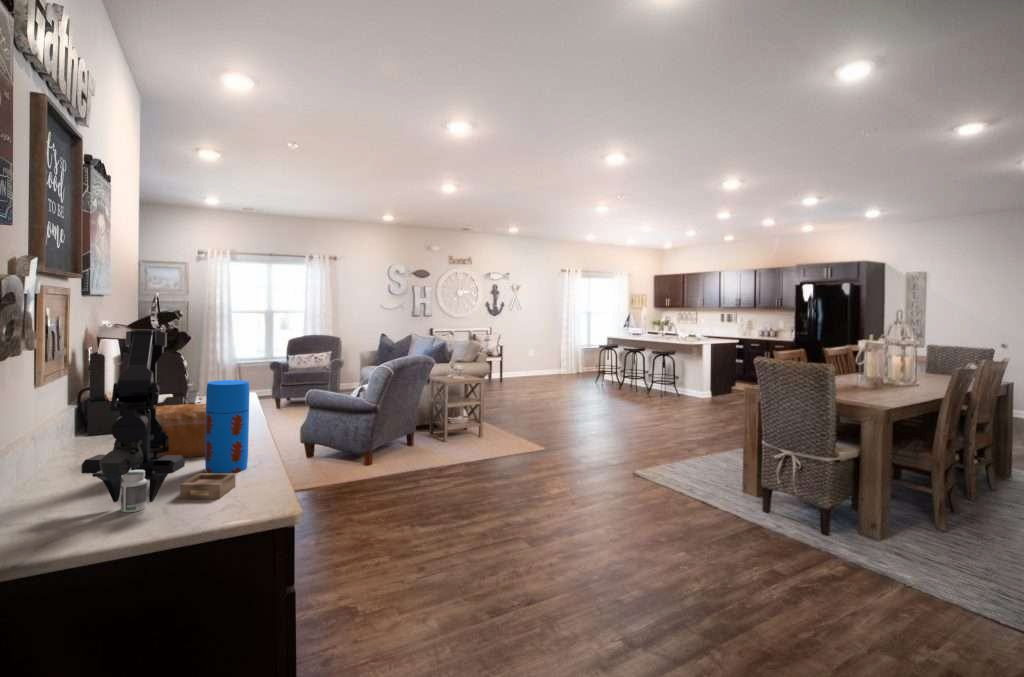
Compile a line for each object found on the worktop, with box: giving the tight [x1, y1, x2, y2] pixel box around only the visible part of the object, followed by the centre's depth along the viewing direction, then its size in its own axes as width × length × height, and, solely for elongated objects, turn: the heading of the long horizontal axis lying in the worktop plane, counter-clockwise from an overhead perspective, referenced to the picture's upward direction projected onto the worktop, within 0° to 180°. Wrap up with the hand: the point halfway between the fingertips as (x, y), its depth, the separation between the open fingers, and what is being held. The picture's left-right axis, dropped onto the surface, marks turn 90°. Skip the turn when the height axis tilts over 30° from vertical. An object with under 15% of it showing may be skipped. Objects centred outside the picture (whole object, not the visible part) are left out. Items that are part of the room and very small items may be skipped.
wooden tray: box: [179, 472, 237, 500], centre depth 128 cm, size 9×9×4 cm
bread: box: [156, 403, 206, 459], centre depth 160 cm, size 14×26×16 cm, turn 127°
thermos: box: [204, 379, 251, 474], centre depth 147 cm, size 11×11×25 cm
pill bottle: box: [120, 469, 148, 513], centre depth 115 cm, size 5×5×8 cm
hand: (133, 501), depth 116 cm, fingers open, 7 cm apart
